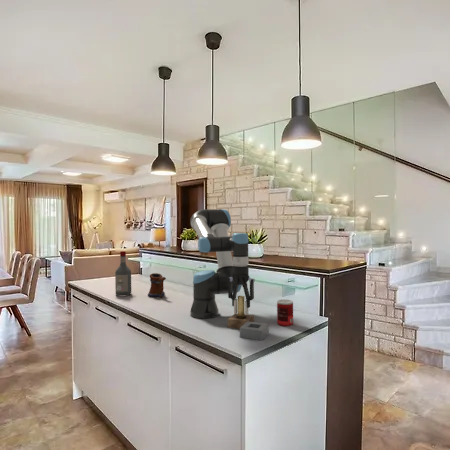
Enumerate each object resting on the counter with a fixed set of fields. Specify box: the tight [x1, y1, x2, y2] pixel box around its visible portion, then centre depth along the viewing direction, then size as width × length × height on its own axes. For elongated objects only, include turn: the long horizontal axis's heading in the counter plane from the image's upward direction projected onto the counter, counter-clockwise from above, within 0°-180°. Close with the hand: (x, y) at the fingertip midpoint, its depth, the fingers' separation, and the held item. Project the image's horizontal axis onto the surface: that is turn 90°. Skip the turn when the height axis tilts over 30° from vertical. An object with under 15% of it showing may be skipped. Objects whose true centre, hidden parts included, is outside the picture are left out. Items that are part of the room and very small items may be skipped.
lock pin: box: [237, 295, 245, 319], centre depth 156 cm, size 3×3×14 cm
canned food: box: [276, 299, 294, 327], centre depth 158 cm, size 8×8×11 cm
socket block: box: [239, 321, 270, 341], centre depth 143 cm, size 10×10×4 cm
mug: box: [147, 272, 167, 299], centre depth 218 cm, size 18×12×15 cm, turn 37°
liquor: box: [114, 250, 132, 296], centre depth 226 cm, size 9×9×30 cm
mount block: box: [227, 312, 256, 330], centre depth 156 cm, size 10×10×4 cm
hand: (241, 313), depth 156 cm, fingers open, 5 cm apart
